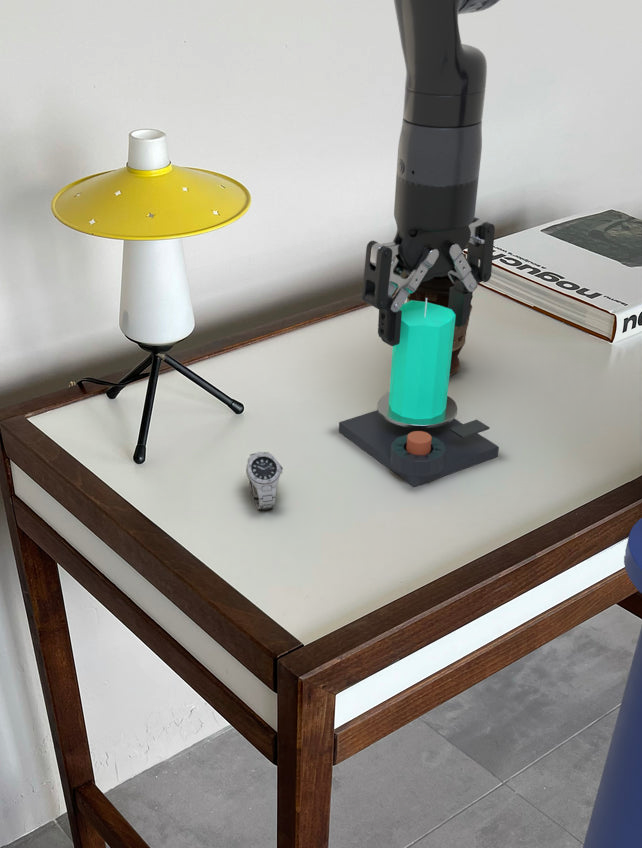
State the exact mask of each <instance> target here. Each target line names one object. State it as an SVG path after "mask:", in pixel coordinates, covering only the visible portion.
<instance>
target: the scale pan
mask: <svg viewBox="0 0 642 848" xmlns="http://www.w3.org/2000/svg"><path fill="white" fill-rule="evenodd" d="M389 392H390V390H389V391H388V392H385V393H384V394H382V395H381V396H380V397H379V398H378V400H377V403H376V410H378V412H379V414H380V415H381V416H382V417H383V418H384V419H386V420H387V421H389V422H391V423H393V424H396V425H399V426H403V427H408V428H419V429H424V428H434V427H439V426H442V425H445V424H447V423H449V422H451V421H452V420H453V419H456V417H457V415H458V410H459V409H458V404H457V403H456V401H455V400H454V399H453V398H452V397H451V396H449V395H447V403H446V408H445V410H444V412H443V413H442V414H441V415H439V416H436V417H434V418H431V419H412V418H407V417H402V416H400V415H398V414H397V413H395V412H393V411H392V410H391V408H390V406H389ZM490 429H491V428H490V426H488V425H487V424H485V423H483V422H482V421H481V420H479V419H478V418H477V419H474V420H470V421H468V422H465V423H462V425H459V426H456V427H453V428H450V431H452V432H453V433H455V434H456V435H458V436H459V437H461V438H465V437H468V436H471V435H474V434H477V433H478V434H481V433H482V432H485V431H487V430H490Z"/></svg>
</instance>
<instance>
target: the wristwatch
mask: <svg viewBox="0 0 642 848" xmlns="http://www.w3.org/2000/svg"><path fill="white" fill-rule="evenodd" d="M283 470H284V467H283V466H282V464H281V463H280V462H279V461H278V460H277V458H276V457H275V456H274V455H273V454H272V453H270V452H265V451H258V452H254V453H250V454H249V457H248V458H247V463H246V467H245V473H246V477H247V479H248V482H249V483H248V486H249V489H250V490H249V492H250V494H251V495H250V496H251V499H252V500H253V503H254V504H255V507H256V508H257V510H263V511H265V510H270V509H274V508H275V504H276V499H277V498H276V497H277V496H276V495H277V487H278V484H279V480H280V478H281V475H282V473H283Z"/></svg>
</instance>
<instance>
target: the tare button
mask: <svg viewBox="0 0 642 848" xmlns="http://www.w3.org/2000/svg"><path fill="white" fill-rule="evenodd" d="M431 440H432V437H431V435H430V434H428V433H426V432H423V431H414V432H411V433H409V434H408V436H407V445H406V450H407V452H408V453H410V454H414V455H426V454H429V453H430V451H431Z"/></svg>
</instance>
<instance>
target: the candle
mask: <svg viewBox="0 0 642 848" xmlns="http://www.w3.org/2000/svg"><path fill="white" fill-rule="evenodd" d="M400 310H401V311H402V317H401V331H400V343H399V344H398V345H395V346H392V351H391V365H390V380H389V391H390V392H389V391H388V392H389V406H390V408H391V410H392V411H393V412H395V413H397V414H398V415H400V416H402V417H407V418H412V419H431V418H434V417H436V416H439V415H441V414H442V413H443V412H444V410H445V408H446V403H447V396H448V393H449V384H450V383H449V382H450V376H451V375H450V365H451V356H452V346H453V337H454V327H455V318H456V315H455V313H454V312H453V311H452V309H449V308H446V307H443V306H440V305H436V304H432V303H428V302H427V298H426V302H422V301H413V300H411V301H409V302H407V301H405V302H404V303H403V305H402V307H401V308H400ZM449 375H450V376H449Z"/></svg>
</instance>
